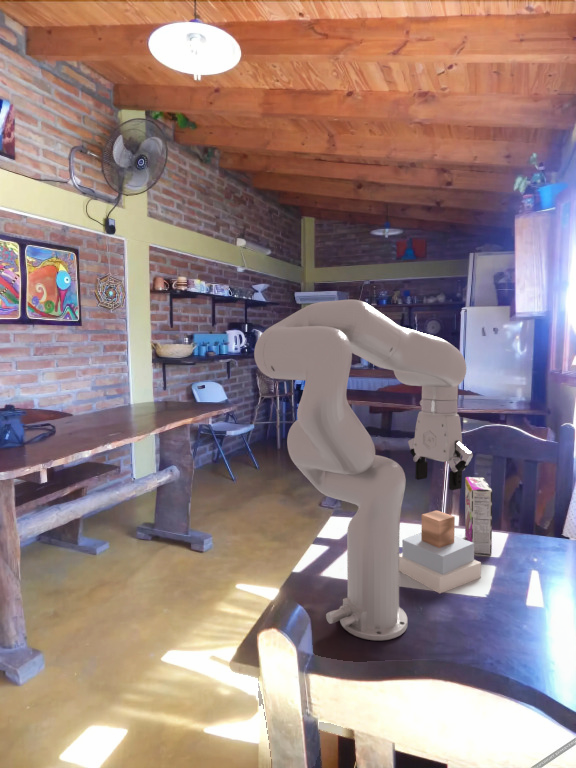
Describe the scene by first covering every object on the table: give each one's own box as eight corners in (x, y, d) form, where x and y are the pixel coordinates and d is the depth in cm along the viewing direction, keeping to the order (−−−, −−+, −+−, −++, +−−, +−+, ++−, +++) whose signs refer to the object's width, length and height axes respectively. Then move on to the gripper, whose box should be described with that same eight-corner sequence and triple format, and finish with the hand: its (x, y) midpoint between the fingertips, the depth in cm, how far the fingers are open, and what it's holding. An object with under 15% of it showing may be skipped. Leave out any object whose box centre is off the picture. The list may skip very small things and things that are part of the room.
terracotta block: (439, 548, 106) (439, 521, 106) (421, 540, 110) (421, 514, 110) (454, 542, 109) (454, 516, 108) (436, 535, 113) (436, 510, 113)
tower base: (439, 596, 102) (439, 577, 101) (395, 571, 113) (396, 554, 112) (480, 580, 108) (481, 562, 108) (435, 558, 119) (435, 542, 119)
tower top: (442, 574, 103) (442, 556, 102) (402, 556, 112) (402, 539, 111) (473, 560, 109) (474, 543, 109) (433, 544, 118) (433, 528, 117)
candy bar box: (463, 536, 131) (464, 476, 130) (483, 537, 130) (484, 477, 129) (470, 554, 120) (471, 488, 119) (492, 555, 119) (493, 489, 118)
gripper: (398, 404, 113) (397, 477, 114) (459, 412, 98) (457, 496, 99) (422, 402, 117) (420, 473, 118) (484, 410, 102) (481, 490, 103)
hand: (437, 483), depth 108 cm, fingers open, 9 cm apart
